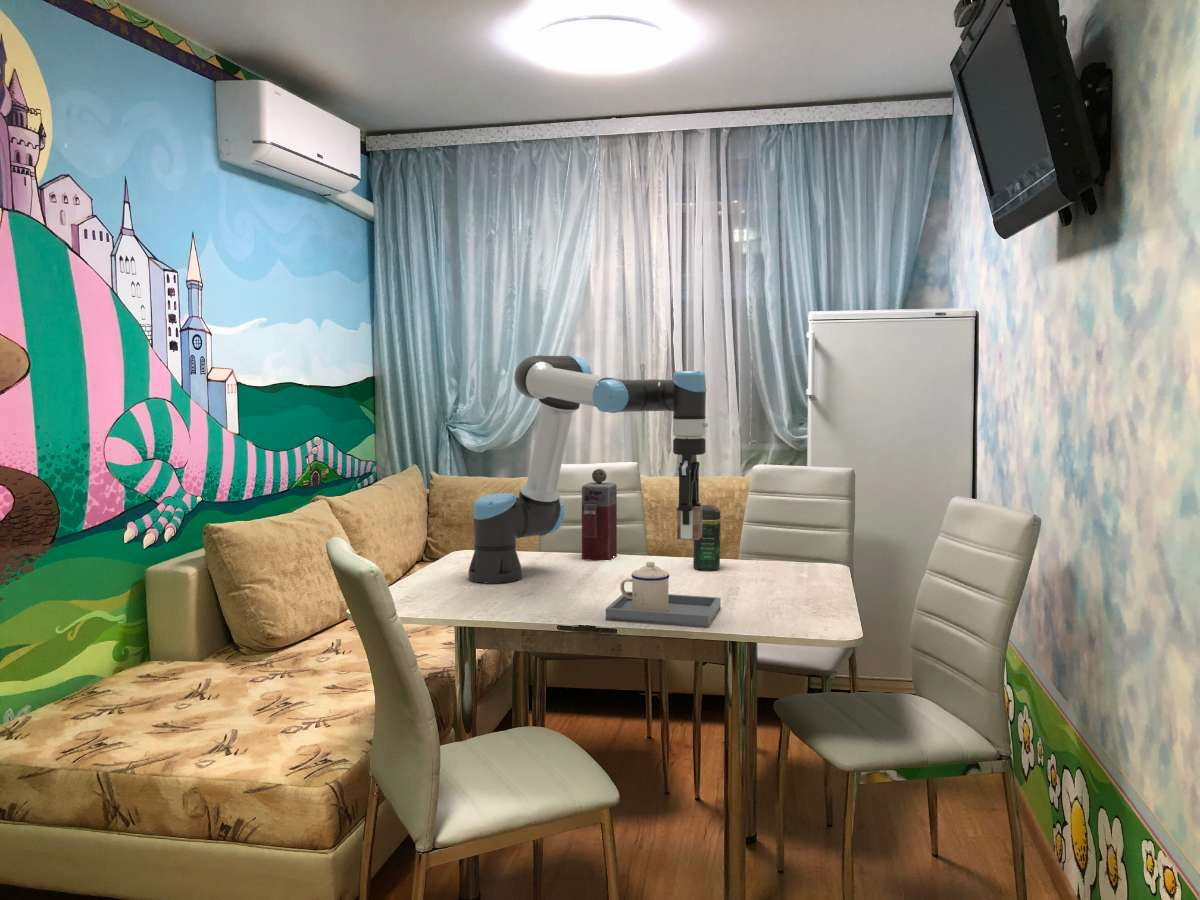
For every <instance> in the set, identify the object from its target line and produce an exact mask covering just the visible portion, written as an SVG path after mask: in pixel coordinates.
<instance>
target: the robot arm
mask: <svg viewBox="0 0 1200 900" xmlns="http://www.w3.org/2000/svg"><path fill="white" fill-rule="evenodd" d="M672 376H673V378H672V379H651V378H650V379H649V378H648V379H621V378H620V379H619V378H614V377H608V376H602V375H597V374H596V375H595V374H593V371H592V370H591V366H590V364H589V363H588V362H587V361H586V360H585V359H584V358H582V357H581V356H580V357H579V356H573V355H572V356H571V355H570V354H569V355H539V354H538V355H531V356H528V357H527V358H524V359H523V360H522V361H521V362H520V363H519V364H518V365H517V367H516V368H515V372H514V384H515V387H516V388H517V390H518V391H519V392H520V394H521V395H523V396H525V397H527V398H529V399H535V400H537V399H538V402H539V404H540V405H541V406H542V407H541V412H540V417H539V421H538V426H537V431H536V437H535V441H534V446H533V451H532V457H531V459H530V460H531V461H530V466H529V471H528V475H527V481H526V483H524V484H523V485H521V486H520V488H519V493H518V496H516V495H515V494H513V493H510V492H509V493H508V492H501V493H493V494H488V495H484V496H481V497H479V498H477V499H476V500H475V502H474V505H473V513H472V516H473V541H474V542H473V543H474V544H473V545H474V546H473V547H474V548H473V549H474V550H473V554H472V558H471V560H470V564H469V566H468V567H469V568H468V575H467V576H468V577H467V579H468V578H469V579H470V580H469V579H468V580H469V581H471V580H473V581H477V582H476V583H478V582H487V583H486V584H503V583H502V582H507V583H512V582H511V581H513V582H517V581H519V580H522V578H523V568H522V564H521V561H520V559H519V556H518V553H517V543H516V542H517V539H523V538H530V537H537V536H539V537H543V536H546V535H550V534H553V533H555V532H556V531H558V530H559V529H560V528H561V526H562V525H563V522H564V518H565V509H564V506H565V505H564V501H563V500H562V498H561V497H560V496H561V495H560V494H561V493H560V492H559V491H558V490H557V487H558V481H559V476H560V474H561V473H560V472H561V467H562V464H563V460H564V459H563V458H564V454H565V449H566V445H567V441H568V435H569V431H570V426H571V421H572V418H573V413H574V412H576V411H578V410H579V409H580V407H581V405H585V406H589V407H595V408H596V409H597V410H598V411H599V412H601V413H609V414H611V413H612V414H616V413H625V412H626V413H627V412H628V413H629V412H630V413H632V412H673V413H672V415H673V417H672V418H673V419H672V435H673V436H674V438H673V439H672V452H673V454H674V455H679V456H681V462H679V466H678V468H677V470H678V507H676V511H677V510H679V511H681V538H683V539H682V540H689V539H693V511H692V507H700V506H701V503H700V496H699V495H700V494H699V493H700V489H699V487H700V486H699V485H700V483H699V482H700V481H699V479H700V474H699V473H700V462H699V461H697V456H701V455H705V453H706V439H705V438H703V437H705V436H706V428H708V426H709V424H708V423H707V422H706V405H707V404H706V403H707V402H706V400H707V386H706V385H707V383H706V381H707V380H706V375H705V373H704V371H701V370H679V371H678V370H677V371H674V373H673V374H672ZM516 580H517V581H516ZM473 581H472V582H473Z"/></svg>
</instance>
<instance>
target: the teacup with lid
mask: <svg viewBox="0 0 1200 900" xmlns="http://www.w3.org/2000/svg"><path fill="white" fill-rule="evenodd" d="M669 578H670V573H669V572H668V571H667V570H665V569H662V568H660V567H659V566H656V564H655V562H654V561H647V562H646V563H645V565H644V566H642V567H640V568H639V569H638V568H637V569H635V570H633V571H632V572H631V577H630V578H629V577H627V578H624V579H622V581H620V586H619V587H620V593H621V595H622V594H623V595H624V596H625V597H626V598H628V599H632V609H633V610H645V611H659V612H667V611H668V594H669ZM627 582H629V583H631V585H632V589H631V592H632V596H630V595H628V594H627V593H626V592H625V591H626V590H625V583H627Z"/></svg>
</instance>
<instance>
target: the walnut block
mask: <svg viewBox="0 0 1200 900" xmlns="http://www.w3.org/2000/svg"><path fill="white" fill-rule="evenodd" d="M692 511H693V539H688V540H691V541H692V540H693V541H694V540H699V539H700V538H701V537H702V507H692ZM676 528H677V529H676V532H677V534H676V535H677V536H676V537H677V540H684V539H683V538H681V511H679V510H677V509H676Z"/></svg>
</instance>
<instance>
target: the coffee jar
mask: <svg viewBox="0 0 1200 900" xmlns="http://www.w3.org/2000/svg"><path fill="white" fill-rule="evenodd" d="M700 507H702V537H701V538H700V539H699V540H693V556H692V557H693V561H692V563H693V568H694V569H696V570H698V569H699V570H702V571H711V570H718V569H720V565H721V533H722V532H721V528H722V527H721V510H720V509H719V508H717V507H716V506H715V505H711V504H702V505H700Z"/></svg>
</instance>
